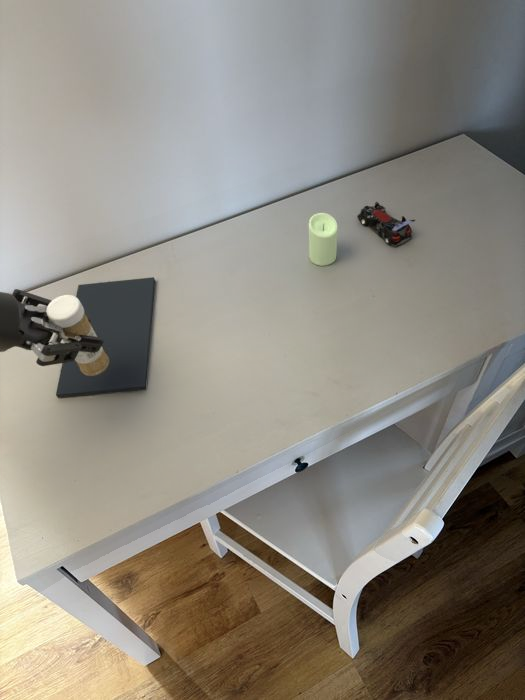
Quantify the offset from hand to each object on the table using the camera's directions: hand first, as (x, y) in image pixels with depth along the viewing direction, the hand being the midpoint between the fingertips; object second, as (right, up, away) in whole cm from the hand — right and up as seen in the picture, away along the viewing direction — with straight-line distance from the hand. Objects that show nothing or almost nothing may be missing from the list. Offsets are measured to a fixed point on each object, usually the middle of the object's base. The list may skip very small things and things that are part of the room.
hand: (93, 334), depth 77 cm
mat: (-1, 0, +14) cm, 14 cm away
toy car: (+47, +21, +25) cm, 58 cm away
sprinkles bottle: (-1, -5, +4) cm, 6 cm away
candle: (+36, +15, +22) cm, 44 cm away
